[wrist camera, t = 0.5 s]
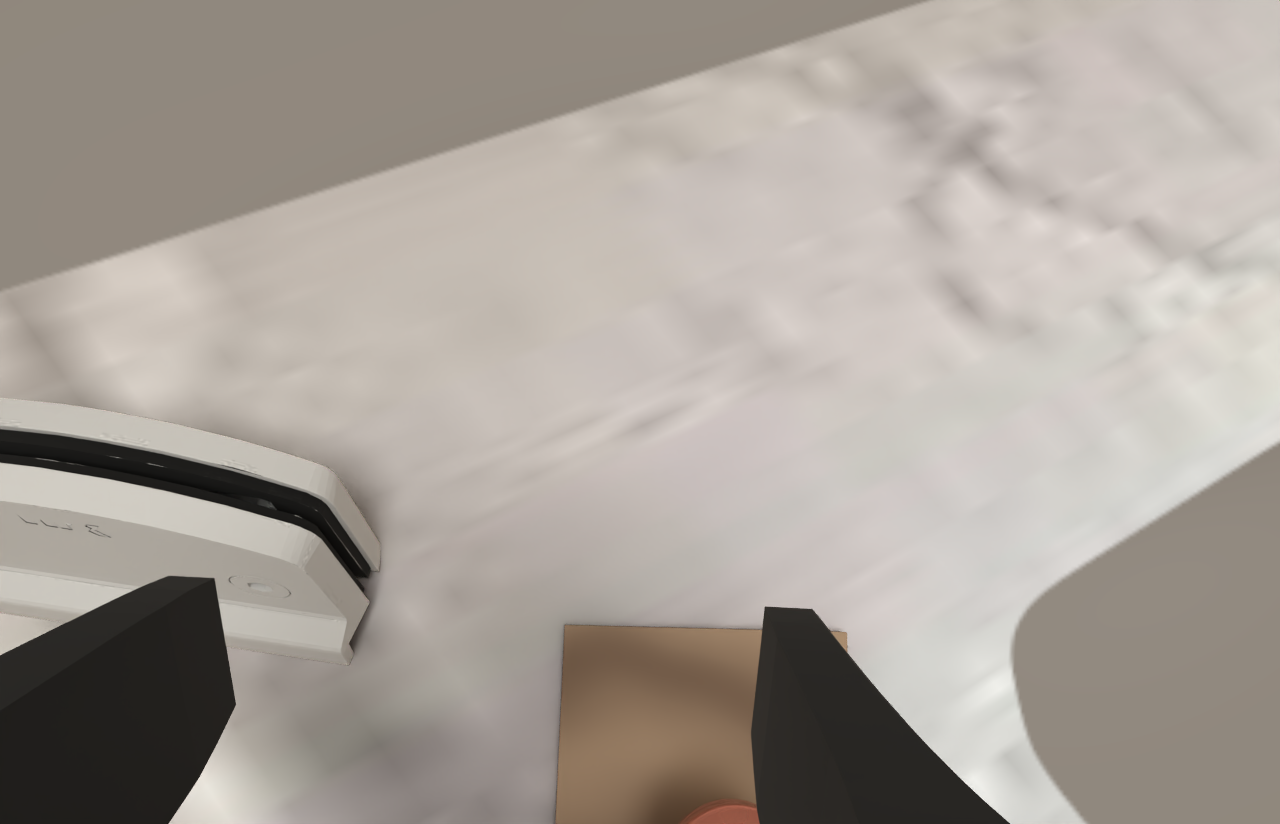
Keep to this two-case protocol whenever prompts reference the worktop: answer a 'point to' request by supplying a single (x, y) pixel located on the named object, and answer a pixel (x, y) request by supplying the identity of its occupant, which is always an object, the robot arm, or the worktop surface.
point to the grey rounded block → (178, 526)
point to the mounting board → (655, 721)
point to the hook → (723, 813)
